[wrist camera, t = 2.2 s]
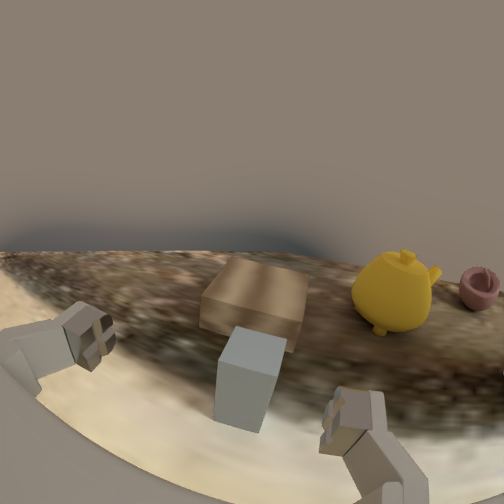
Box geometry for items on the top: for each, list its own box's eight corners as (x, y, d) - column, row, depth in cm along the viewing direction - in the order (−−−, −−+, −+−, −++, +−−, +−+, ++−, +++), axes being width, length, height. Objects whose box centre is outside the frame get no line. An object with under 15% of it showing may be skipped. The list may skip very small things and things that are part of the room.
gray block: (268, 399, 29) (287, 339, 25) (258, 433, 25) (277, 376, 21) (227, 388, 30) (235, 325, 26) (213, 420, 26) (218, 360, 22)
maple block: (302, 303, 50) (309, 274, 48) (292, 354, 38) (302, 322, 35) (228, 285, 53) (232, 256, 50) (199, 328, 40) (200, 295, 38)
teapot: (402, 293, 58) (422, 238, 52) (444, 333, 44) (473, 272, 38) (331, 298, 52) (351, 231, 47) (372, 352, 39) (407, 275, 33)
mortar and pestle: (444, 297, 58) (461, 256, 53) (465, 293, 61) (480, 257, 57) (475, 323, 48) (496, 280, 43) (492, 316, 51) (511, 278, 46)
